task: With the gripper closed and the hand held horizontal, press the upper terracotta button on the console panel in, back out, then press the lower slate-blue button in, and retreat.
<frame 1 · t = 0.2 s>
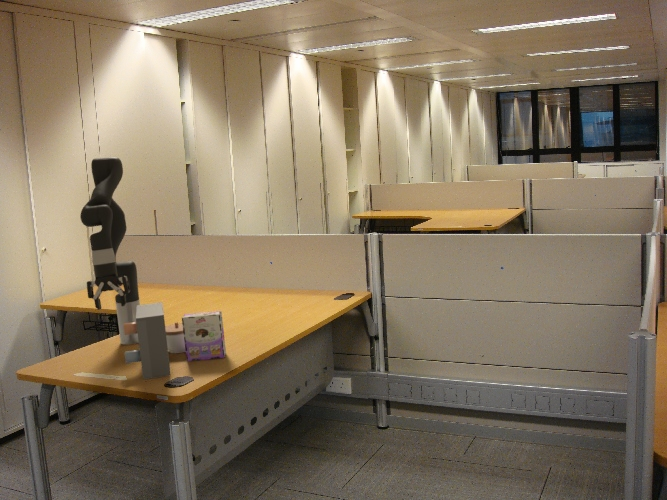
hand: (111, 307, 234), 22 cm above the table, tool pointing down, fingers open, 8 cm apart
lidded container: (179, 351, 253), on the table
candy box: (206, 358, 242), on the table
terracotta button: (133, 328, 235), point 14 cm above the table, slide at 0.0 cm
slate blue button: (134, 356, 225), point 7 cm above the table, slide at 0.0 cm
console panel: (143, 370, 232), on the table
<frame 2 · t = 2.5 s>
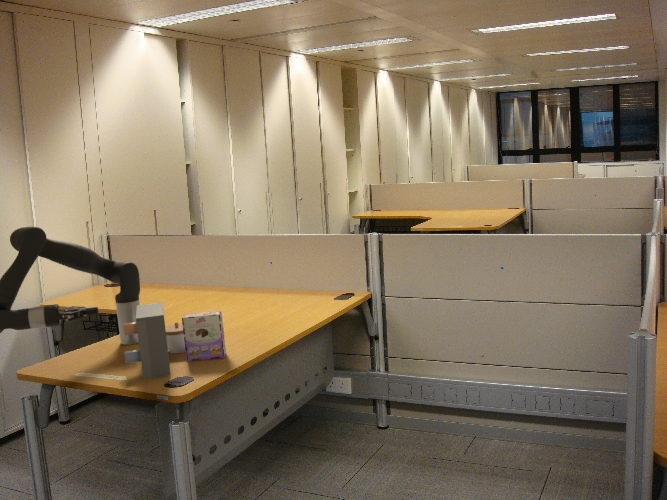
hand: (97, 310, 231), 22 cm above the table, tool horizontal, fingers closed
nothing on the table moved.
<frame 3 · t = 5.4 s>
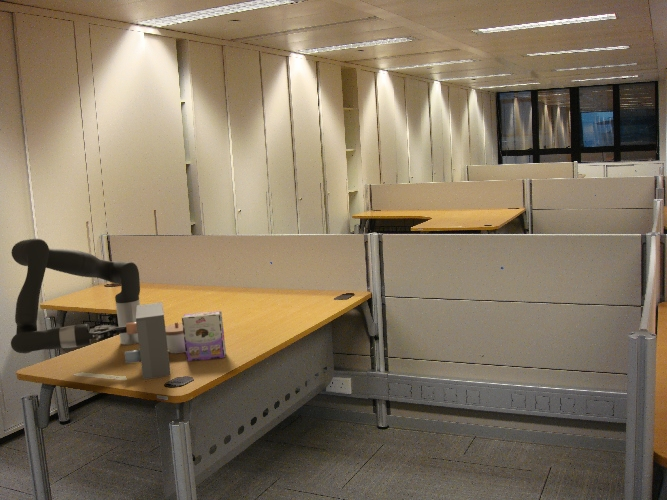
hand: (126, 329, 235), 14 cm above the table, tool horizontal, fingers closed
terracotta button: (135, 327, 236), point 14 cm above the table, slide at 0.9 cm, touching gripper
everything else where it was.
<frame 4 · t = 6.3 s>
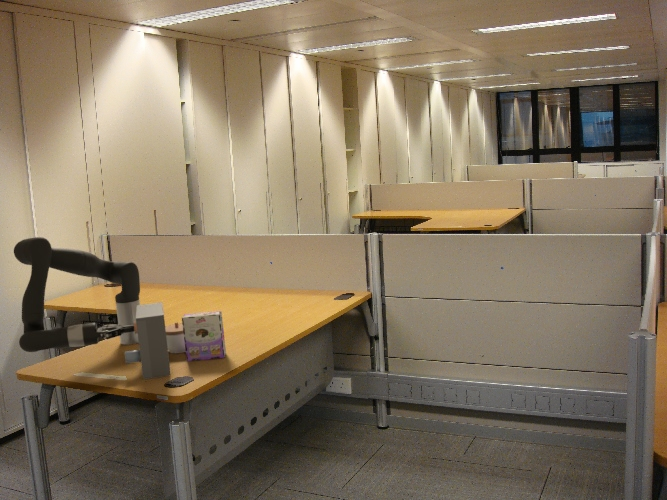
hand: (134, 328, 235), 14 cm above the table, tool horizontal, fingers closed
terracotta button: (143, 326, 236), point 14 cm above the table, slide at 3.5 cm, touching gripper
everything else where it was.
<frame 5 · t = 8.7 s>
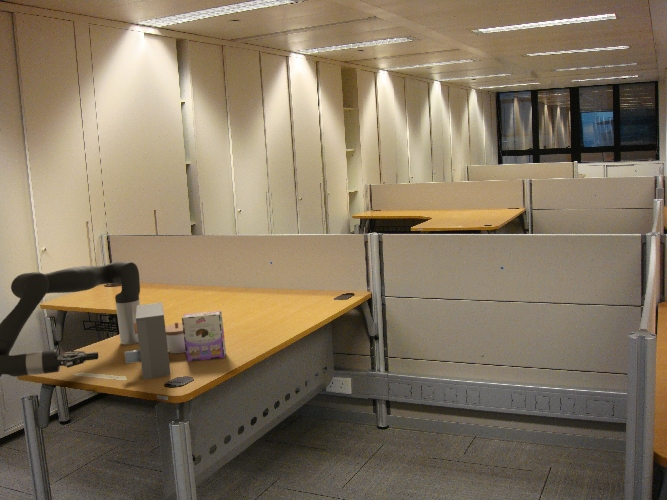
hand: (98, 355, 223), 9 cm above the table, tool horizontal, fingers closed
terracotta button: (143, 326, 236), point 14 cm above the table, slide at 3.5 cm
everything else where it was.
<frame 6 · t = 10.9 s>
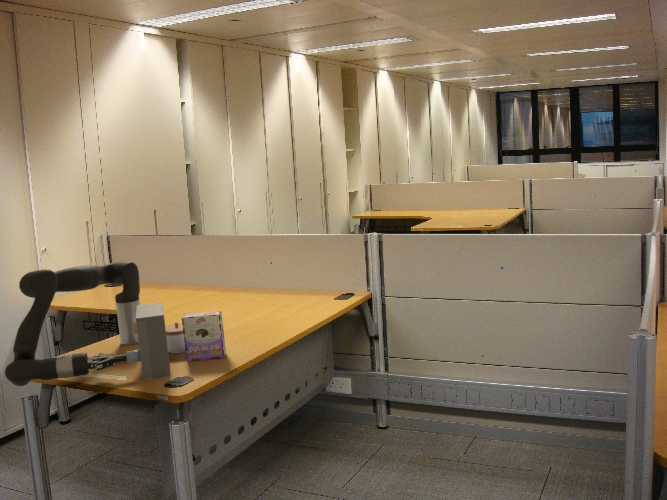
hand: (126, 357, 224), 7 cm above the table, tool horizontal, fingers closed
slate blue button: (136, 356, 225), point 7 cm above the table, slide at 0.4 cm, touching gripper
everything else where it was.
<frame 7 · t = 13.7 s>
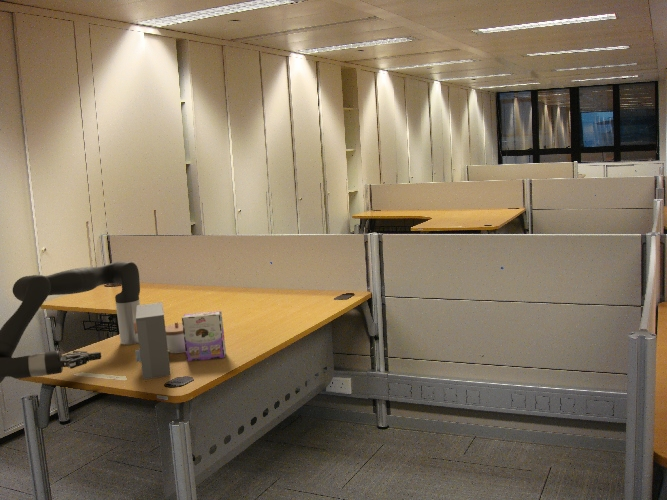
hand: (100, 355, 223), 9 cm above the table, tool horizontal, fingers closed
slate blue button: (145, 354, 226), point 7 cm above the table, slide at 3.5 cm
everything else where it was.
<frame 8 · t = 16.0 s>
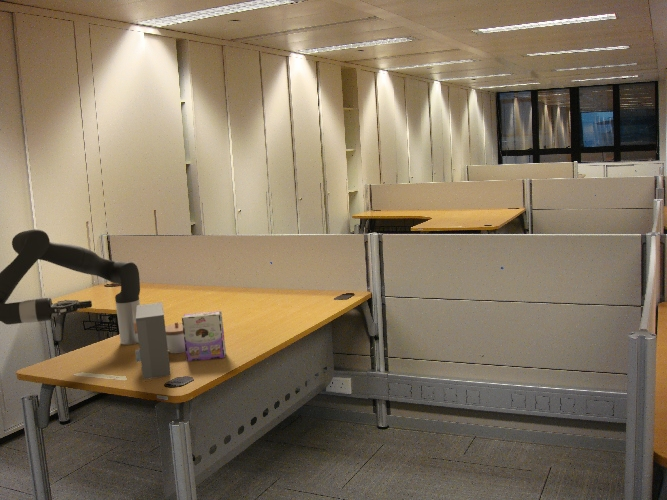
hand: (91, 303, 223), 26 cm above the table, tool horizontal, fingers closed
nothing on the table moved.
at the end: terracotta button slide at 3.5 cm; slate blue button slide at 3.5 cm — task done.
